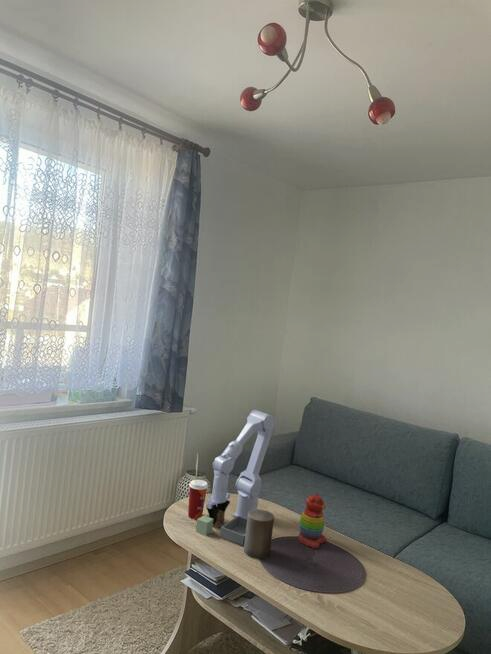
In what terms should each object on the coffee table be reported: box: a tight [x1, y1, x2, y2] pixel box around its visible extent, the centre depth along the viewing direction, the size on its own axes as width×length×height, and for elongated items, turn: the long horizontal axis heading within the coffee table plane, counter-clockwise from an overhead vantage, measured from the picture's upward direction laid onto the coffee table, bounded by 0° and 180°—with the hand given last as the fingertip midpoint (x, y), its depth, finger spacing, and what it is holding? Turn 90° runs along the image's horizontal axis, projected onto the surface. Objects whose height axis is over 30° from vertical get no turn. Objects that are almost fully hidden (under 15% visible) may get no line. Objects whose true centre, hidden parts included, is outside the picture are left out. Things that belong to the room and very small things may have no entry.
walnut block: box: [213, 510, 226, 529], centre depth 192 cm, size 4×4×5 cm
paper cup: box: [187, 479, 209, 520], centre depth 196 cm, size 8×8×14 cm
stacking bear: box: [297, 493, 327, 549], centre depth 187 cm, size 11×10×18 cm
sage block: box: [195, 515, 214, 536], centre depth 184 cm, size 4×4×5 cm
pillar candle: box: [243, 508, 275, 559], centre depth 174 cm, size 10×10×15 cm
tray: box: [219, 516, 247, 548], centre depth 184 cm, size 14×10×4 cm
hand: (216, 520), depth 192 cm, fingers open, 5 cm apart
